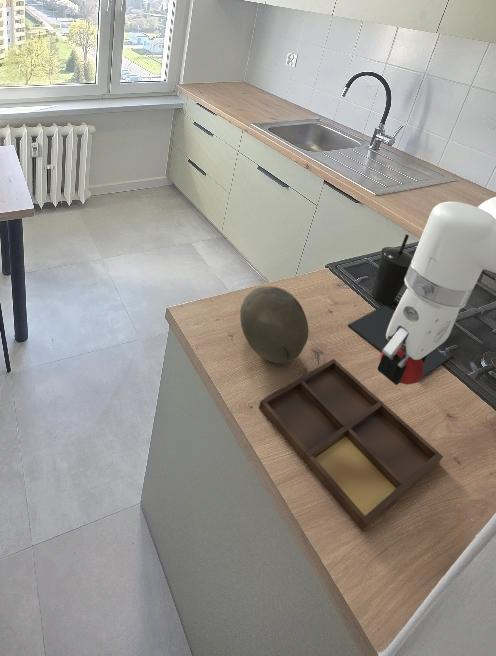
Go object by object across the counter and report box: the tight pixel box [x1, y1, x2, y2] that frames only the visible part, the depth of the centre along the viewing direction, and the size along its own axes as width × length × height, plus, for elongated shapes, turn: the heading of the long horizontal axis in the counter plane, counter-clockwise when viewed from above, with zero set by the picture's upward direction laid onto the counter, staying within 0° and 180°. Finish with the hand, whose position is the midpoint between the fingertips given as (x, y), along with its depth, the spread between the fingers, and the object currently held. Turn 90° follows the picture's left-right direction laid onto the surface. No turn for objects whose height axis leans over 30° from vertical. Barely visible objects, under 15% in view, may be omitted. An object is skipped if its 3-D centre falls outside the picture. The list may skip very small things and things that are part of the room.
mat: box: [347, 305, 454, 381], centre depth 97 cm, size 16×14×1 cm
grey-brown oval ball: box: [239, 285, 309, 364], centre depth 90 cm, size 14×14×15 cm
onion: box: [379, 344, 424, 386], centre depth 68 cm, size 6×6×8 cm
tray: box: [258, 358, 444, 532], centre depth 76 cm, size 21×21×2 cm
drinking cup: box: [371, 234, 414, 306], centre depth 105 cm, size 8×8×20 cm
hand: (400, 367), depth 68 cm, fingers closed on onion, 6 cm apart
